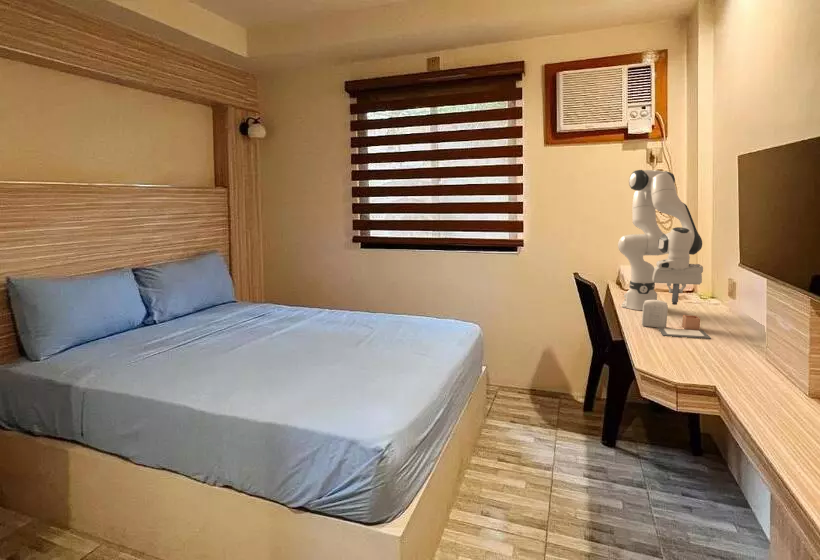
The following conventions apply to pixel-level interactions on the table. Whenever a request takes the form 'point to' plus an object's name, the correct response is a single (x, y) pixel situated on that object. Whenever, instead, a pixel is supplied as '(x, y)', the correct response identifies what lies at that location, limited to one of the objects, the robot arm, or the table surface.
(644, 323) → the photo printer
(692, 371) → the table surface
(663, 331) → the writing board
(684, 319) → the pen holder
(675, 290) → the marker
